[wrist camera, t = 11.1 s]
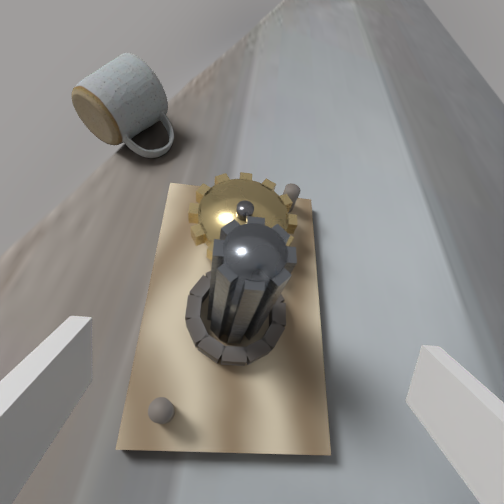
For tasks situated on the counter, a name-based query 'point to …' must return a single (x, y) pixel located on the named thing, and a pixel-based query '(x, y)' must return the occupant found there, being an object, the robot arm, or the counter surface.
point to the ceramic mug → (123, 103)
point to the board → (226, 355)
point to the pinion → (247, 276)
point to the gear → (237, 208)
